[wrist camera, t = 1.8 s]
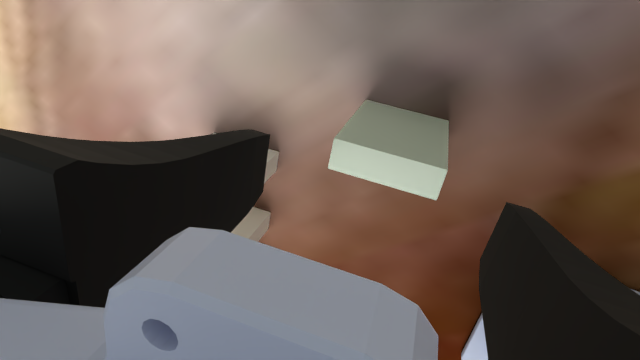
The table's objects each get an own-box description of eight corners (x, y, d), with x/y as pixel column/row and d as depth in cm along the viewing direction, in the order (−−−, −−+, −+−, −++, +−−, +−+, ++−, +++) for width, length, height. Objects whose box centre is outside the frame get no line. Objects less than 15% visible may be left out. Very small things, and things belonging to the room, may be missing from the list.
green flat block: (448, 120, 18) (447, 170, 13) (440, 144, 19) (436, 200, 14) (366, 99, 19) (334, 138, 14) (360, 122, 20) (327, 168, 14)
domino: (270, 212, 24) (219, 273, 18) (268, 228, 24) (218, 292, 19) (210, 193, 24) (144, 246, 19) (209, 209, 25) (145, 265, 20)
